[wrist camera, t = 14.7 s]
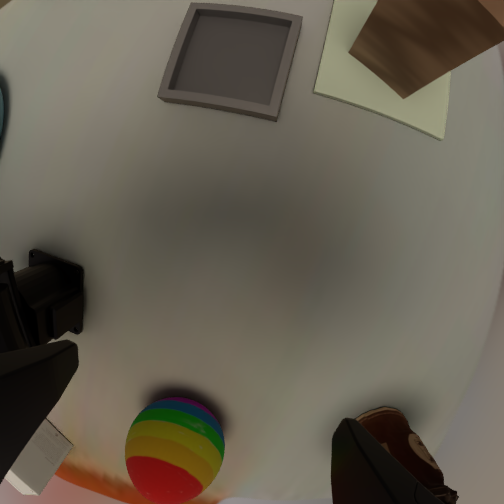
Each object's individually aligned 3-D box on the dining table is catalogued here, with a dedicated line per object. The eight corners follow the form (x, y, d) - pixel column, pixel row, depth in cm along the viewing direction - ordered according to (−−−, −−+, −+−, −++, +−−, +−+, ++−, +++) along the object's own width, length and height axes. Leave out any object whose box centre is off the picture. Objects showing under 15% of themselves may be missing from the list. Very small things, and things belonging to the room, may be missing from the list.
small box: (44, 415, 27) (3, 463, 17) (74, 445, 28) (39, 496, 18) (28, 427, 29) (-7, 467, 19) (54, 453, 30) (23, 496, 19)
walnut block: (348, 52, 17) (409, -54, 5) (382, 17, 15) (447, -77, 4) (403, 99, 17) (511, 36, 5) (433, 60, 16) (528, -4, 4)
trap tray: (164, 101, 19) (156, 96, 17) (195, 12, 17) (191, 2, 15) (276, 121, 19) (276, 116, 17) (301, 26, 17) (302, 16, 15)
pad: (313, 93, 18) (314, 90, 17) (336, -9, 16) (337, -12, 15) (440, 140, 18) (443, 140, 17) (448, 37, 15) (451, 35, 15)
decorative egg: (197, 373, 23) (160, 464, 13) (246, 434, 24) (234, 521, 15) (129, 396, 25) (83, 469, 15) (178, 450, 26) (152, 523, 16)
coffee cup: (418, 384, 22) (477, 489, 9) (416, 437, 24) (454, 528, 11) (327, 414, 23) (347, 539, 11) (339, 462, 25) (354, 563, 12)
